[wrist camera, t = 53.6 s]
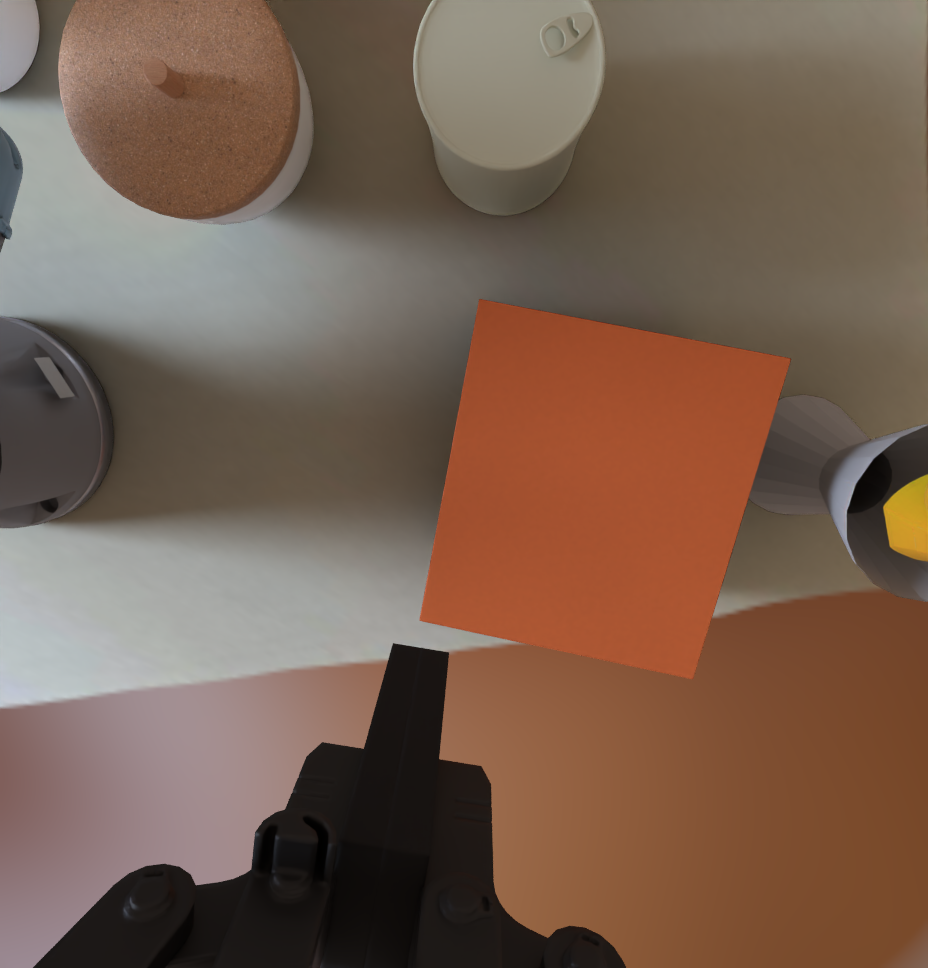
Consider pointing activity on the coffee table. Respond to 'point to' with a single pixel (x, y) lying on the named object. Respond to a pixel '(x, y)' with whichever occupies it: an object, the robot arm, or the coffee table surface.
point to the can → (507, 94)
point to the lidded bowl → (187, 104)
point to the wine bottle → (17, 39)
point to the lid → (597, 486)
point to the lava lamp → (852, 488)
